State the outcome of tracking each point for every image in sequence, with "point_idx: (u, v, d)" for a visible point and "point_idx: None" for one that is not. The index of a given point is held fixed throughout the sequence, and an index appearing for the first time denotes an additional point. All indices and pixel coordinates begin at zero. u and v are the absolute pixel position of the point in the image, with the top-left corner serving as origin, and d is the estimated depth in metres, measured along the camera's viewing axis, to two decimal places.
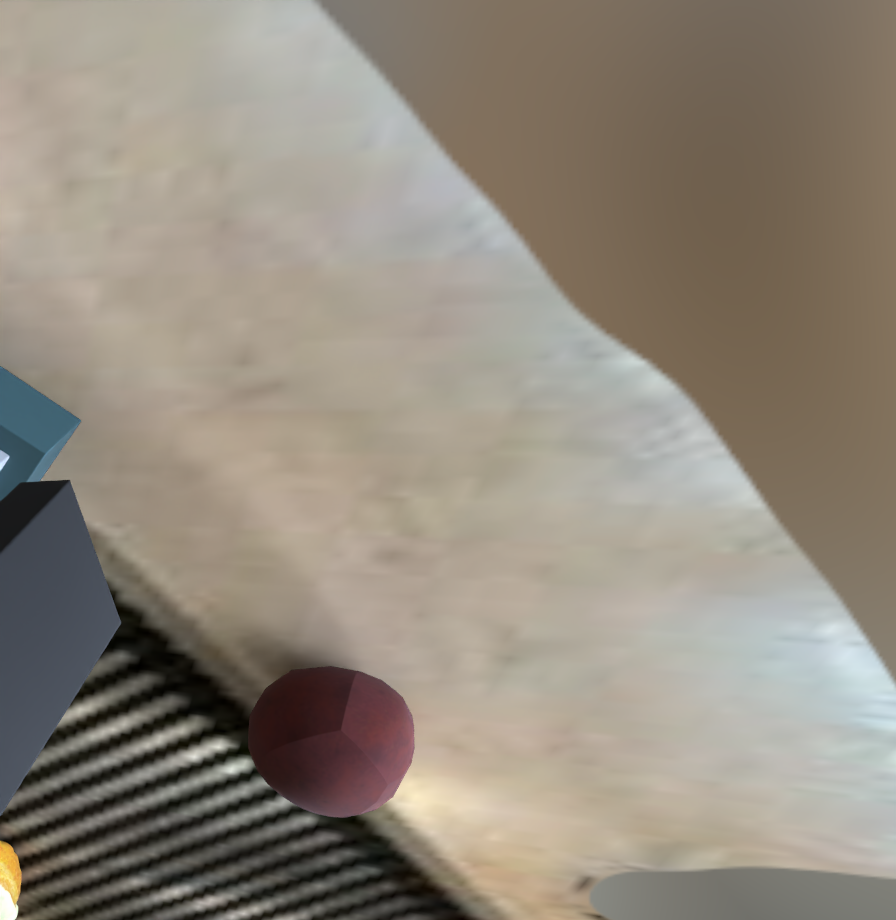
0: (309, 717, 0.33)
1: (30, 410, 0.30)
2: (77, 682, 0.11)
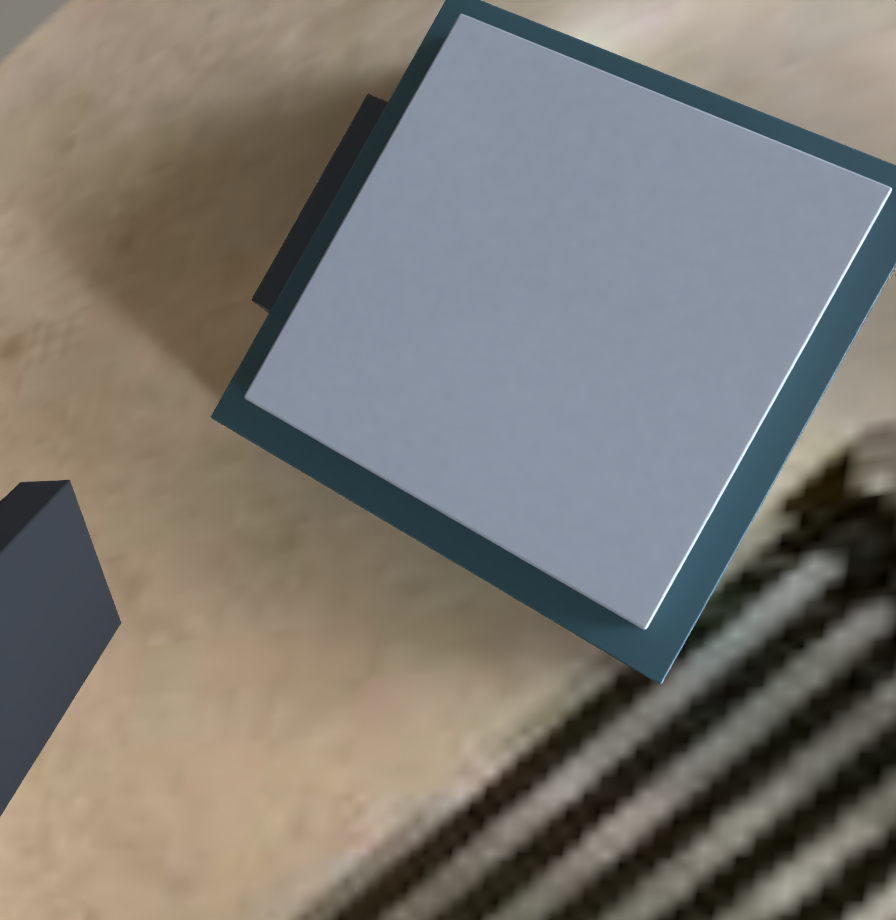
0: None
1: None
2: (77, 682, 0.11)
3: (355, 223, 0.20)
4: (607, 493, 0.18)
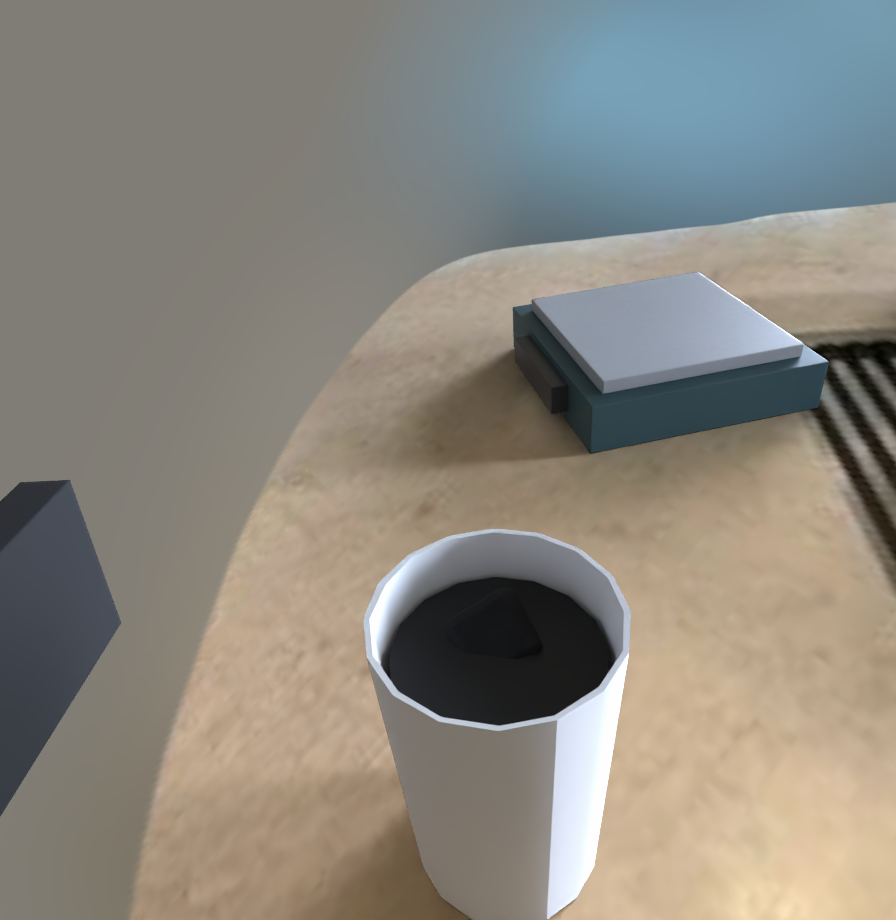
0: None
1: None
2: (77, 682, 0.11)
3: (572, 337, 0.45)
4: (743, 333, 0.44)
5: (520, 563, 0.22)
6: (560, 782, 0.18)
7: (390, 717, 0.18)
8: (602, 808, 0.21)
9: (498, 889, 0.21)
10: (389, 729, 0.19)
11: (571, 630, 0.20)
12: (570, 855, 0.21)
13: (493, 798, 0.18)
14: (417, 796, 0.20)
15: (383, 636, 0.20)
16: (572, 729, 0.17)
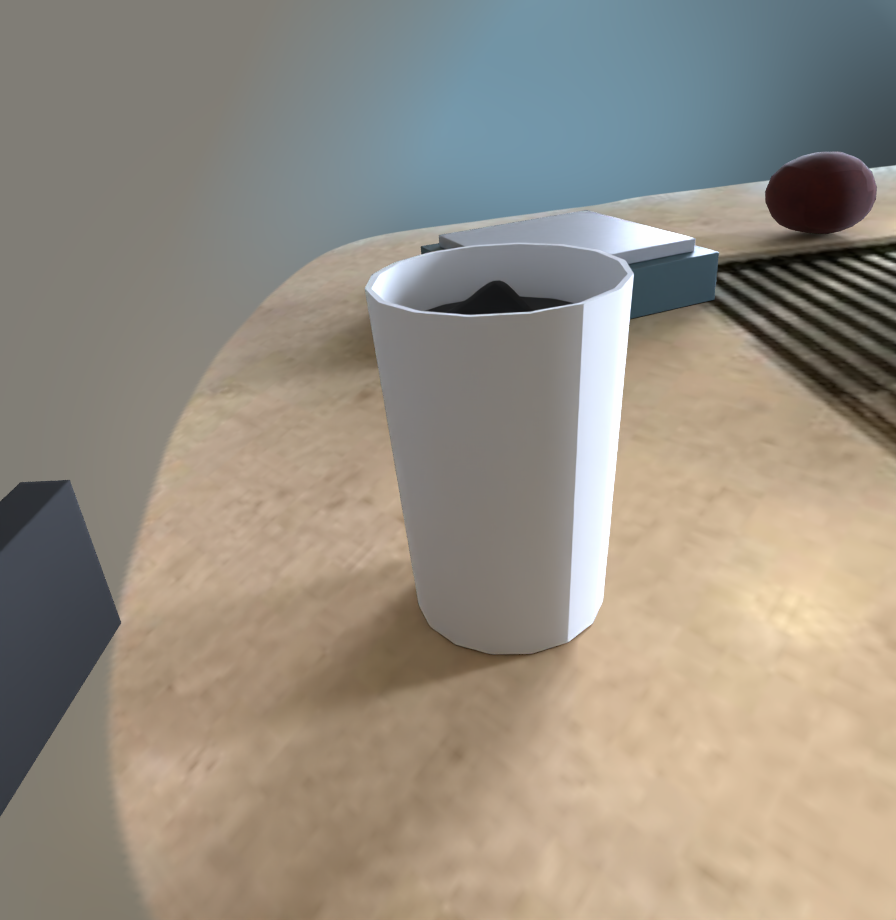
0: (776, 172, 0.59)
1: None
2: (77, 682, 0.11)
3: None
4: (640, 237, 0.47)
5: (502, 281, 0.22)
6: (584, 411, 0.18)
7: (405, 371, 0.18)
8: (611, 507, 0.21)
9: (521, 589, 0.20)
10: (401, 402, 0.19)
11: None
12: (589, 544, 0.20)
13: (521, 431, 0.18)
14: (435, 476, 0.19)
15: None
16: (595, 329, 0.17)
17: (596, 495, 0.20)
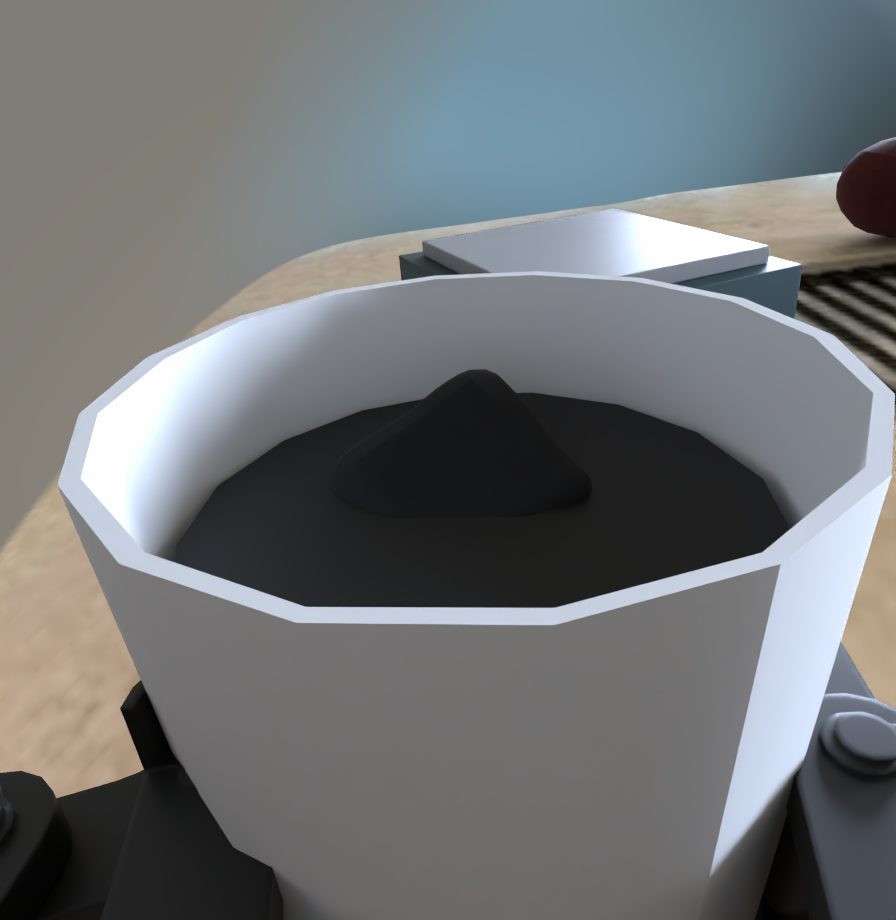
0: (851, 160, 0.47)
1: None
2: None
3: (482, 263, 0.34)
4: (692, 244, 0.35)
5: (499, 356, 0.10)
6: (728, 846, 0.05)
7: (159, 694, 0.06)
8: None
9: None
10: (175, 748, 0.06)
11: (650, 453, 0.08)
12: None
13: None
14: None
15: (163, 499, 0.07)
16: (799, 626, 0.05)
17: None
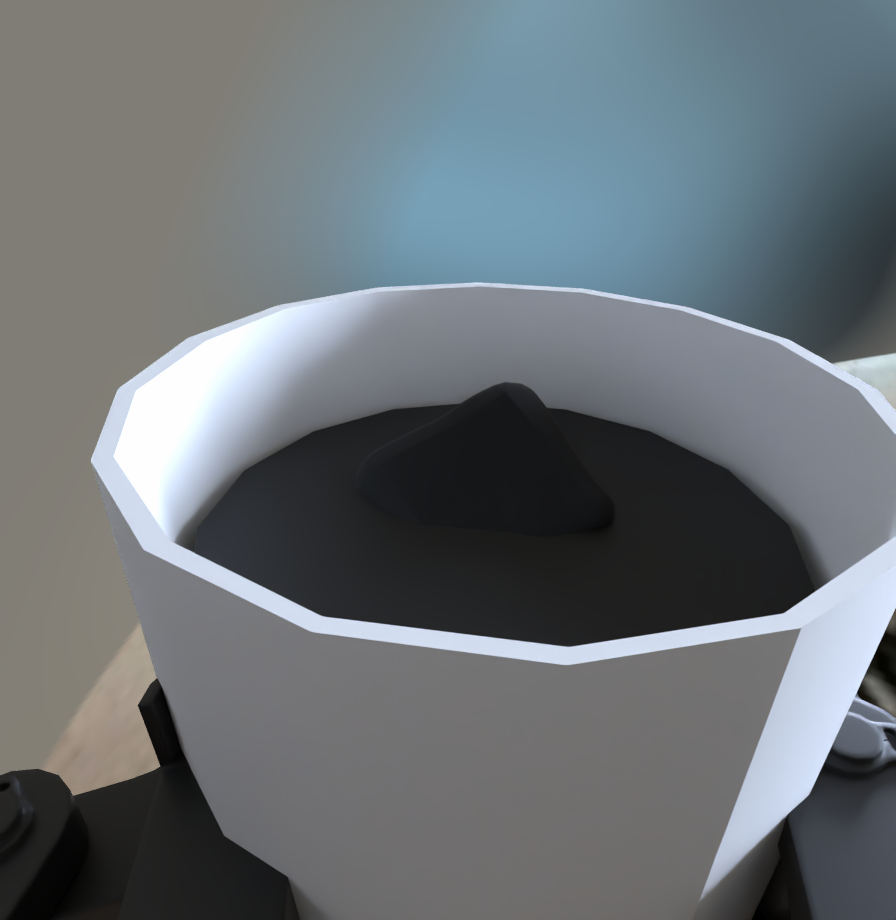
0: None
1: None
2: None
3: None
4: None
5: (535, 370, 0.10)
6: (713, 894, 0.05)
7: (167, 675, 0.06)
8: None
9: None
10: (177, 727, 0.06)
11: (677, 485, 0.08)
12: None
13: None
14: None
15: (191, 479, 0.07)
16: (812, 687, 0.05)
17: None
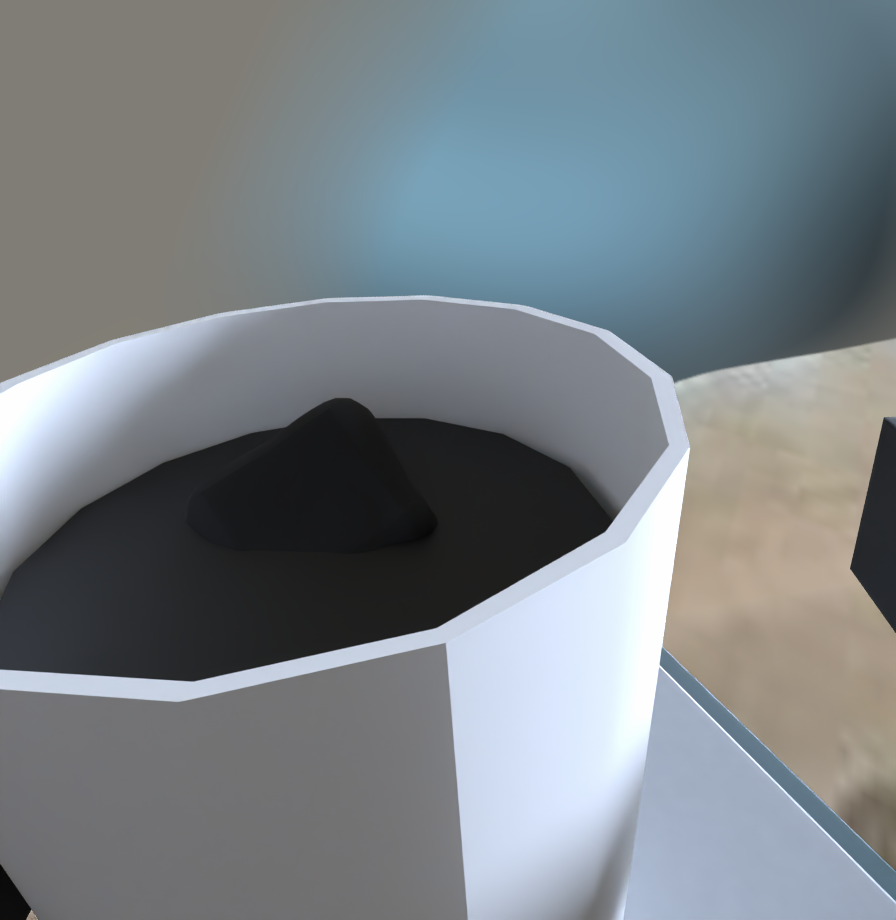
0: None
1: None
2: None
3: None
4: None
5: (393, 381, 0.10)
6: (492, 915, 0.05)
7: None
8: None
9: None
10: None
11: (511, 489, 0.08)
12: None
13: None
14: None
15: (9, 523, 0.07)
16: (518, 700, 0.04)
17: None
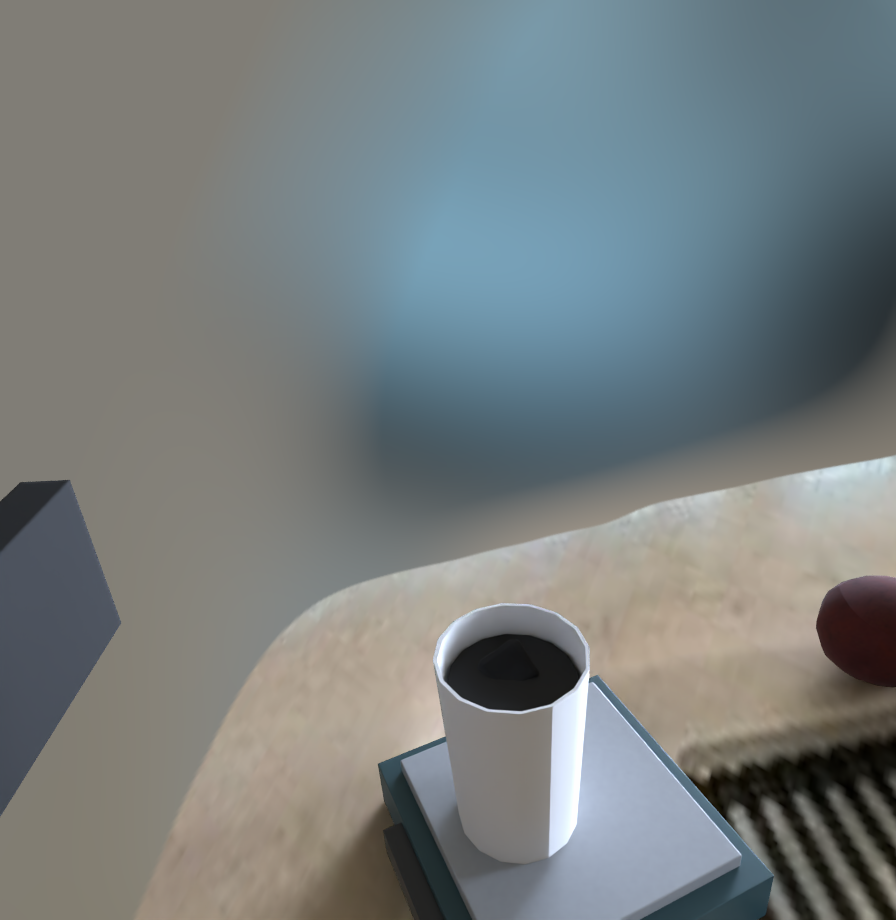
0: (830, 601, 0.47)
1: None
2: (77, 682, 0.11)
3: (456, 859, 0.35)
4: (666, 832, 0.35)
5: (520, 624, 0.35)
6: (555, 750, 0.31)
7: (453, 717, 0.31)
8: (579, 777, 0.34)
9: (518, 832, 0.33)
10: (450, 727, 0.32)
11: (555, 662, 0.33)
12: (562, 806, 0.33)
13: (517, 761, 0.31)
14: (468, 770, 0.32)
15: (442, 672, 0.33)
16: (560, 713, 0.30)
17: (566, 782, 0.33)
